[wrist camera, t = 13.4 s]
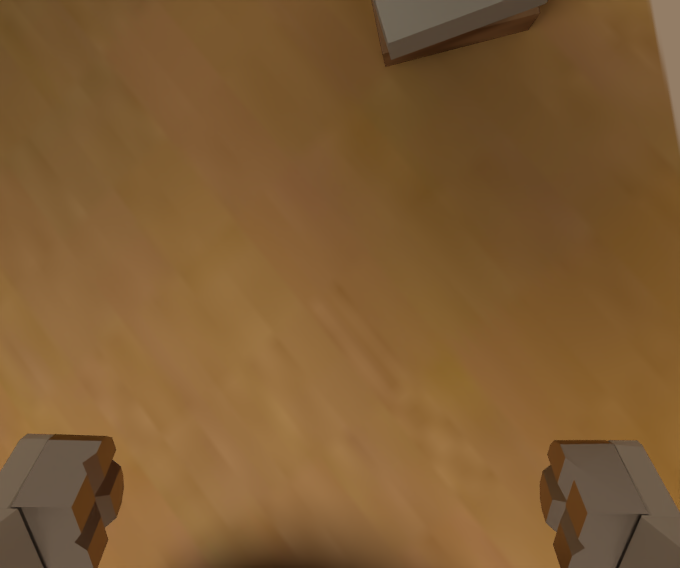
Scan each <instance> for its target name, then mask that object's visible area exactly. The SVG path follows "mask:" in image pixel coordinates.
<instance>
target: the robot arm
mask: <svg viewBox="0 0 680 568" xmlns="http://www.w3.org/2000/svg"><path fill="white" fill-rule="evenodd" d="M115 452H116V448H115V445H114V442H113V439H112V437H109V436H90V435H63V434H54V435H52V434H27V435H25V436H24V437H23V438H22V439H20V440H19V442H18V444H17V445H16V447H15V448H14V450H13V452H12V453H11V455H10V457H9V458H8V460H7V461H6V463H5V465H4V466H3V468H2V470H1V471H0V568H98V565H99V563H100V560H101V558H102V555H103V552H104V550H105V547H106V544H107V542H108V537H107V534H106V531H105V527H106V526H107V525H109V524H110V523H111V522H112V521H113V520H114V519H116V518H117V515H118V512H119V509H120V506H121V503H122V496H123V490H124V480H123V473H122V469H121V466H120V465H118V464H117V463H116V462H115V461H113V460H112V459H113V457H114V454H115ZM547 455H548V458H549V461H550V464H551V465H550V466H549V467H547V468H546V469H545V470H543V472H542V476H541V480H540V502H541V508H542V512H543V515H544V518H545V522H546V523H547V524H548V525H549V526H550V527H551V528H552V529H553V530H555V531H556V532H557V533H556V536H555V539H554V543H553V546H554V549H555V552H556V555H557V559H558V562H559V565H560V568H680V512H679V510H678V508H677V507H676V505H675V503H674V501H673V500H672V498H671V496H670V494H669V492H668V491H667V489H666V487H665V485H664V483H663V482H662V480H661V478H660V476H659V474H658V473H657V471H656V469H655V467H654V465H653V464H652V462H651V460H650V458H649V457H648V455H647V453H646V451H645V449H644V448H643V446H642V444H640V443H639V442H638V441H625V440H609V441H606V440H554V441H553V442H552V443H551V444H550V447H549V450H548V454H547Z"/></svg>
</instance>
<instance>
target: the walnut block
mask: <svg viewBox="0 0 680 568" xmlns="http://www.w3.org/2000/svg"><path fill="white" fill-rule="evenodd" d="M371 1H372V6H373V11H374V15H375V20H376V25H377V30H378V35H379V40H380V44H381V49H382V54H383V58H384V63H385V67H386V66H390V65H394V64H398V63H402V62H406V61H409V60H413V59H417V58H421V57H425V56H429V55H433V54H436V53H440V52H444V51H448V50H452V49H456V48H460V47H464V46H467V45H471V44H475V43H479V42H483V41H487V40H491V39H495V38H498V37H502V36H506V35H510V34H514V33H518V32H522V31H525V30H528V29H529V28H530V26H531V25H532V24H533V22H534V21H535V19H536V18H537V17H538V15H539V14H540V10H539V6H538V7H535V8H532V9H529V10H527V11H524V12H521V13H519V14H516V15H513V16H510V17H508V18H505V19H502V20H499V21H497V22H494V23H491V24H488V25H486V26H483V27H480V28H477V29H475V30H472V31H469V32H467V33H464V34H461V35H458V36H456V37H453V38H450V39H447V40H445V41H442V42H439V43H436V44H434V45H431V46H428V47H425V48H423V49H420V50H417V51H414V52H412V53H409V54H406V55H403V56H401V57H398V58H395V59H392V60H391V58H390V55H389V51H388V48H387V45H386V42H385V38H384V35H383V32H382V28H381V25H380V22H379V18H378V15H377V12H376V9H375V5H374V2H373V0H371Z"/></svg>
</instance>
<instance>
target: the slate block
mask: <svg viewBox="0 0 680 568" xmlns="http://www.w3.org/2000/svg"><path fill="white" fill-rule="evenodd" d="M547 1H548V0H373V2H374V5H375V9H376V12H377V15H378V18H379V22H380V25H381V28H382V32H383V35H384V38H385V42H386V45H387V48H388V51H389V55H390V58H391V60H392V59H395V58H398V57H401V56H403V55H406V54H409V53H412V52H414V51H417V50H420V49H423V48H425V47H428V46H431V45H434V44H436V43H439V42H442V41H445V40H447V39H450V38H453V37H456V36H458V35H461V34H464V33H467V32H469V31H472V30H475V29H477V28H480V27H483V26H486V25H488V24H491V23H494V22H497V21H499V20H502V19H505V18H508V17H510V16H513V15H516V14H519V13H521V12H524V11H527V10H529V9H532V8H535V7H538V6H541V5H543V4H546V2H547Z"/></svg>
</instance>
